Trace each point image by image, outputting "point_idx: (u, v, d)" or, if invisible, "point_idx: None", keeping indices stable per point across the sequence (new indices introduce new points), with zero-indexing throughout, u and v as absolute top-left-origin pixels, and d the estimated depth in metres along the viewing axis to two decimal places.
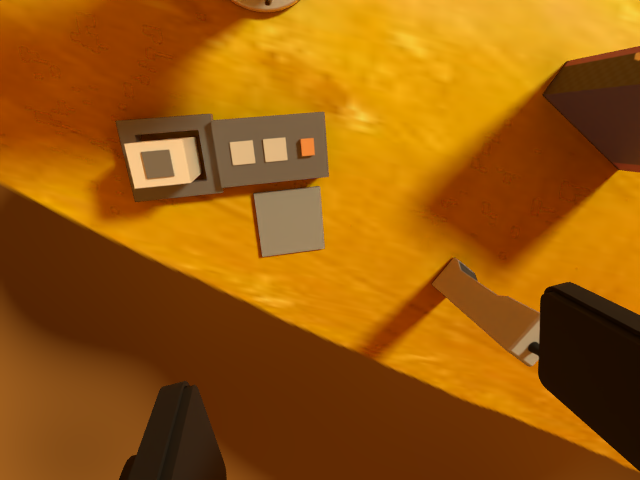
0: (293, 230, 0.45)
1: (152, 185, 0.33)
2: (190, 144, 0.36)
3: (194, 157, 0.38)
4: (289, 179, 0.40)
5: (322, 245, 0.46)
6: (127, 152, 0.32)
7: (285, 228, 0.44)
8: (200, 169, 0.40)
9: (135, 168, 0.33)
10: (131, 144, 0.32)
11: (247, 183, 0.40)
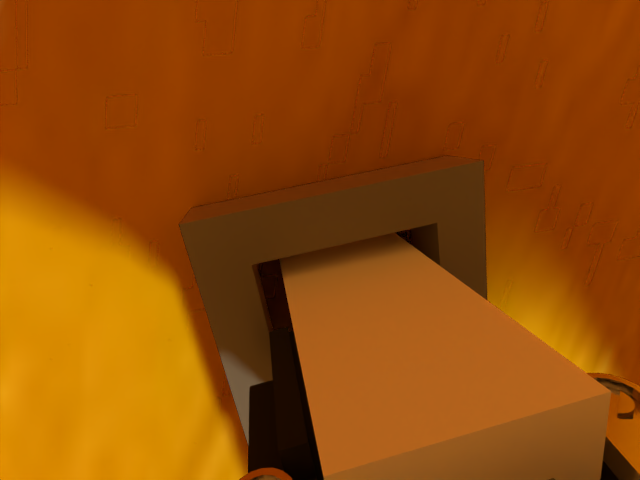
0: None
1: None
2: None
3: None
4: None
5: None
6: (561, 414, 0.05)
7: None
8: None
9: (460, 462, 0.05)
10: (599, 427, 0.05)
11: None
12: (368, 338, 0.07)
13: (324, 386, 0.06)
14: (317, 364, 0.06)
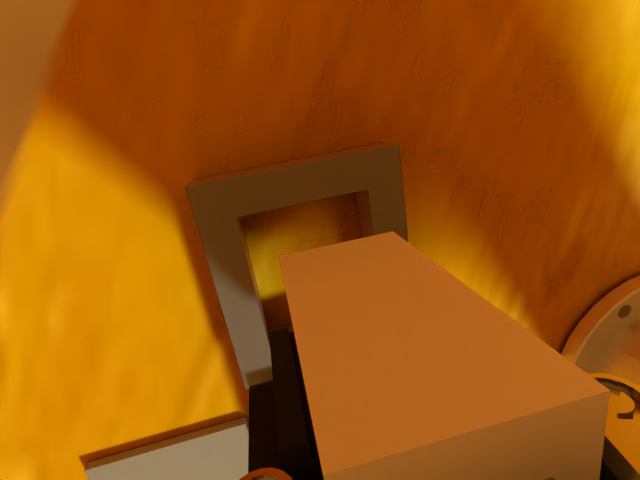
0: None
1: None
2: None
3: None
4: None
5: None
6: (560, 413, 0.05)
7: None
8: None
9: (460, 461, 0.05)
10: (598, 426, 0.05)
11: None
12: (368, 338, 0.07)
13: (324, 385, 0.06)
14: (317, 363, 0.06)
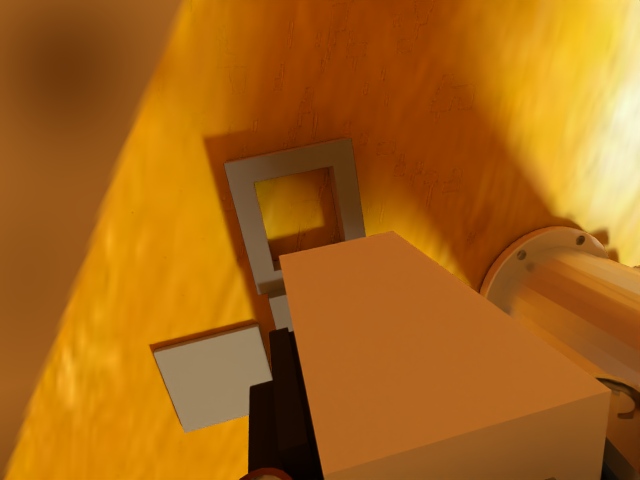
0: (207, 387, 0.29)
1: None
2: None
3: None
4: None
5: (189, 429, 0.30)
6: (561, 412, 0.05)
7: (208, 376, 0.28)
8: None
9: (460, 461, 0.05)
10: (599, 425, 0.05)
11: None
12: (368, 338, 0.07)
13: (324, 385, 0.06)
14: (317, 363, 0.06)
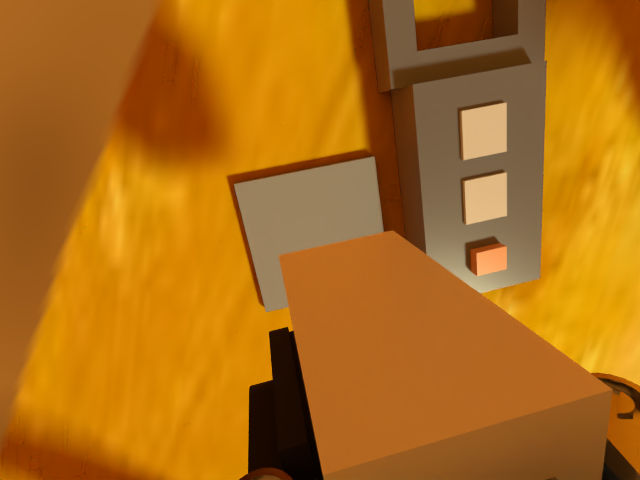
0: (301, 245, 0.21)
1: None
2: None
3: None
4: (427, 232, 0.19)
5: (272, 306, 0.22)
6: (562, 412, 0.05)
7: (303, 227, 0.21)
8: None
9: (461, 461, 0.05)
10: (601, 425, 0.05)
11: (420, 144, 0.18)
12: (368, 337, 0.07)
13: (324, 384, 0.06)
14: (317, 362, 0.06)
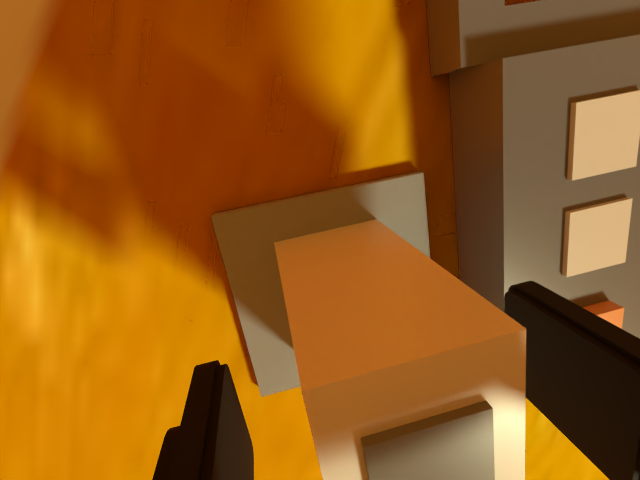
0: None
1: (325, 460, 0.06)
2: None
3: None
4: (507, 289, 0.13)
5: (270, 389, 0.15)
6: (487, 346, 0.06)
7: None
8: None
9: (409, 384, 0.06)
10: (520, 358, 0.06)
11: (508, 156, 0.11)
12: (345, 301, 0.08)
13: (306, 335, 0.07)
14: (302, 321, 0.08)
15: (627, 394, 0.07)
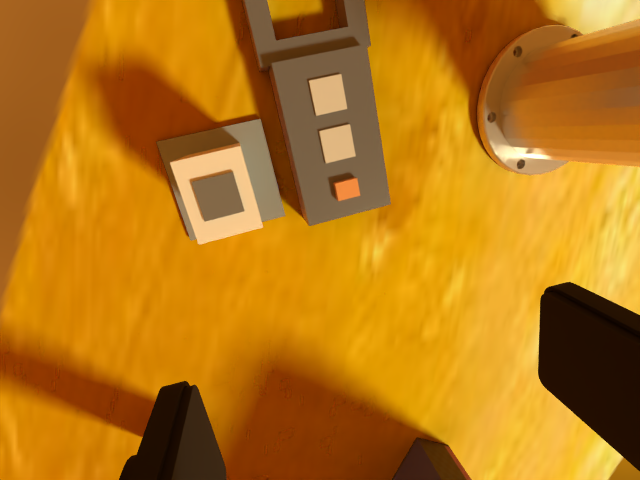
0: None
1: (181, 189, 0.21)
2: None
3: None
4: (298, 169, 0.27)
5: (195, 236, 0.29)
6: (227, 151, 0.20)
7: None
8: None
9: (204, 163, 0.20)
10: (241, 156, 0.21)
11: (283, 105, 0.26)
12: (198, 154, 0.22)
13: (179, 159, 0.21)
14: None
15: None
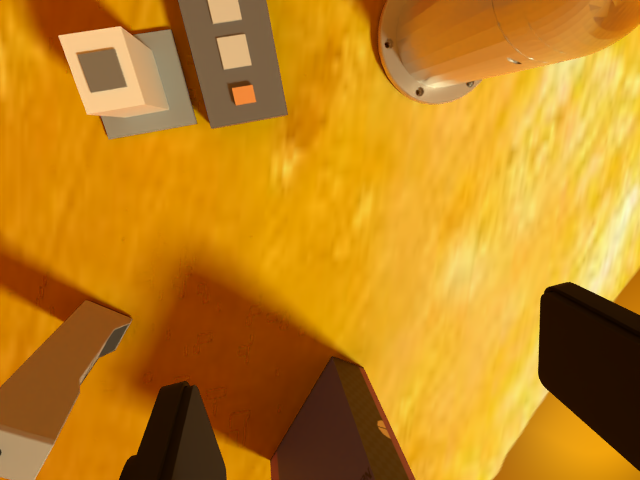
0: None
1: (69, 61, 0.24)
2: (149, 108, 0.29)
3: (136, 112, 0.30)
4: (198, 73, 0.31)
5: (112, 135, 0.33)
6: (109, 29, 0.24)
7: None
8: (127, 116, 0.32)
9: (89, 39, 0.24)
10: (122, 36, 0.24)
11: (183, 11, 0.29)
12: None
13: None
14: None
15: None
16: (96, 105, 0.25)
